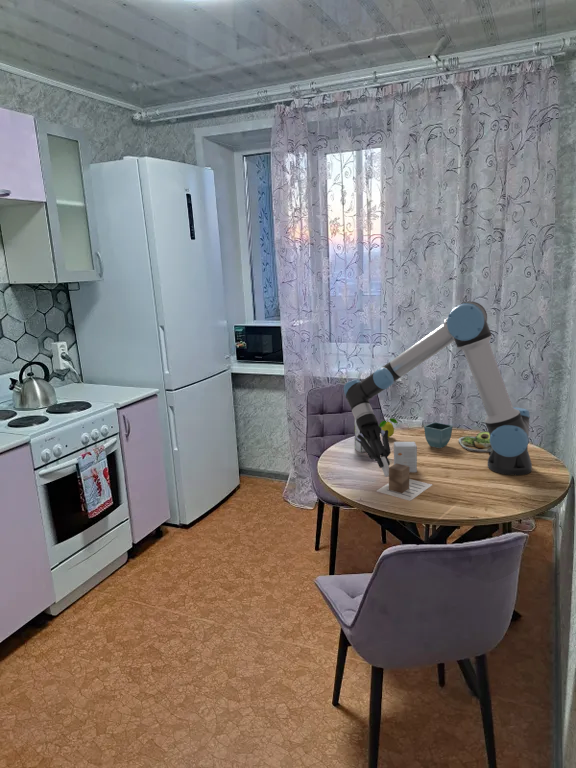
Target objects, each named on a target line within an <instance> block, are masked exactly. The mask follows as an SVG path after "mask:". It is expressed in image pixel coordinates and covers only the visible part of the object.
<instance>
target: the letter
mask: <svg viewBox="0 0 576 768" xmlns="http://www.w3.org/2000/svg"><path fill="white" fill-rule="evenodd" d="M432 486H433V484H432V483H427V482H423V481H420V480H416V479H412V478H409V489H408V490H406V491H405V492H403V493H399V492H395V491H392V490H389V482H388V483H386V484H385V485H383V486H382V487H380V488H378V489H376V492H378V493H381V494H384V495H388V496H391V497H395V498H398V499H402V500H405V501H410V502H411V501H413V499H416V497H418V496H419V495H421V494H422V493H424V492H425V491H426V490H427V489H429V488H431V487H432Z"/></svg>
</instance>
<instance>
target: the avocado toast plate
mask: <svg viewBox="0 0 576 768" xmlns="http://www.w3.org/2000/svg"><path fill="white" fill-rule="evenodd" d="M458 444H460V446H461V447H462V448H463V449H465V450H466V449H467V451H470V452H475V453H491V451H492V449H493V448H492V446H491V444H490V434H489V432H488V431H482V432H479V433H477V434H476V436H468V435H467V436H462V437H459V438H458ZM473 446H474V448H471V447H473ZM476 447H477V448H478V449H477V448H476Z"/></svg>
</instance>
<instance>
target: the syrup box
mask: <svg viewBox="0 0 576 768" xmlns="http://www.w3.org/2000/svg"><path fill="white" fill-rule="evenodd" d="M359 434H360V430H359V428H358V426H357V423H356V420H355V419H354V450H356V451H357V452H359V453H361V454H362V453H366V451H365V450H364V448H363V447H362V445H361V444H360V443H359V442H358V441H357V440H356V437H357V436H358V435H359ZM364 439H365V438H364ZM365 440H366V439H365ZM366 441H367V440H366ZM367 443H368V442H367ZM369 446H370V445H369Z"/></svg>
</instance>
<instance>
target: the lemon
mask: <svg viewBox="0 0 576 768" xmlns="http://www.w3.org/2000/svg"><path fill="white" fill-rule="evenodd" d="M386 419H387V420H382V421H381V422H380V423H379V424H378V425H379V427H380V428H381V430H384V431H386V430H388V439H389V438H390V437H392V436H394V433H395V427H394V425H393V424H397V423H398V421H397V419H396V418H394V417H393V418H392V417H390V418H389V417H388V416H387V418H386Z"/></svg>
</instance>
